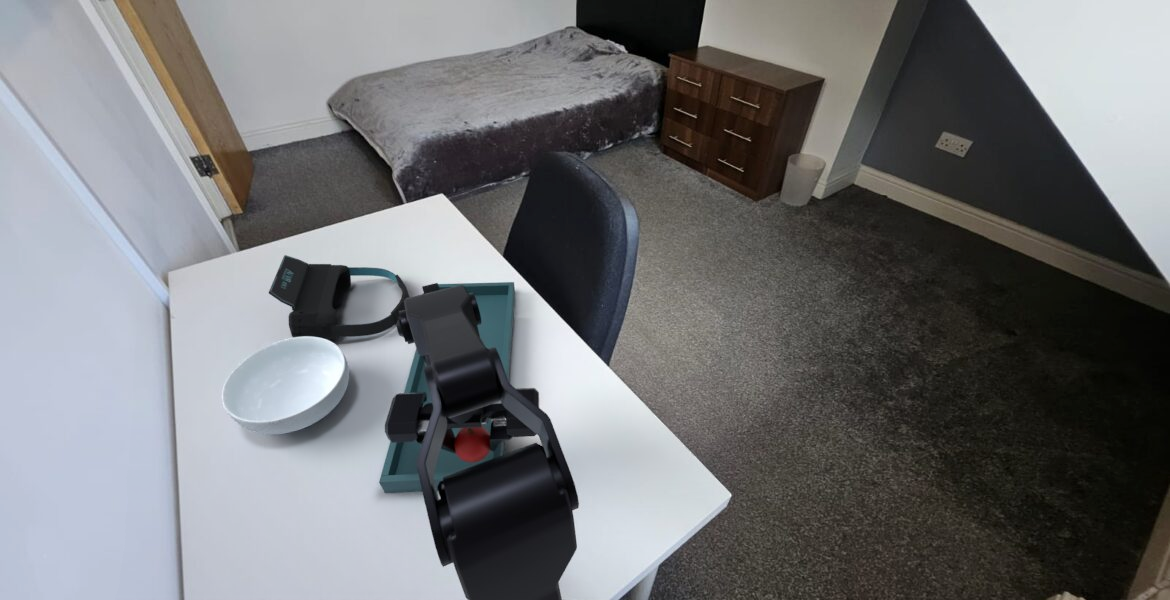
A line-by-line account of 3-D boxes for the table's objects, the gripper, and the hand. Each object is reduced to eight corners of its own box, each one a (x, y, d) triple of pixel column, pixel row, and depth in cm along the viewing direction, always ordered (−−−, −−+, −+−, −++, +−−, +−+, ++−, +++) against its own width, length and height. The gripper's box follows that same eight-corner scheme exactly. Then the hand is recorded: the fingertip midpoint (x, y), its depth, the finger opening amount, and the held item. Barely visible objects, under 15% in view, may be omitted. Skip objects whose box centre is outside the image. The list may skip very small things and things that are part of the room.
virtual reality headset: (298, 284, 96) (288, 243, 90) (412, 284, 103) (409, 245, 96) (275, 349, 83) (261, 306, 76) (408, 344, 89) (404, 303, 83)
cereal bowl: (218, 446, 70) (193, 418, 65) (278, 361, 82) (260, 333, 78) (331, 452, 69) (313, 424, 65) (373, 366, 82) (362, 337, 77)
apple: (491, 468, 64) (486, 445, 61) (455, 470, 64) (447, 447, 60) (494, 436, 68) (490, 413, 64) (459, 438, 68) (453, 414, 64)
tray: (501, 487, 66) (498, 476, 64) (384, 493, 65) (378, 482, 63) (515, 293, 97) (514, 281, 95) (436, 295, 96) (434, 284, 94)
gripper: (536, 326, 62) (541, 399, 72) (392, 331, 61) (418, 404, 71) (535, 395, 53) (541, 466, 64) (367, 402, 52) (401, 473, 63)
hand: (474, 449), depth 66 cm, fingers closed on apple, 5 cm apart
